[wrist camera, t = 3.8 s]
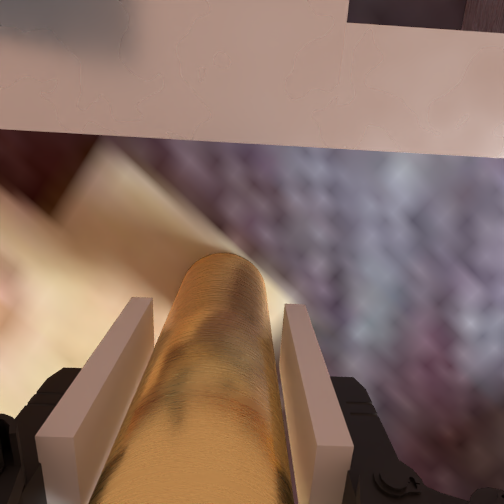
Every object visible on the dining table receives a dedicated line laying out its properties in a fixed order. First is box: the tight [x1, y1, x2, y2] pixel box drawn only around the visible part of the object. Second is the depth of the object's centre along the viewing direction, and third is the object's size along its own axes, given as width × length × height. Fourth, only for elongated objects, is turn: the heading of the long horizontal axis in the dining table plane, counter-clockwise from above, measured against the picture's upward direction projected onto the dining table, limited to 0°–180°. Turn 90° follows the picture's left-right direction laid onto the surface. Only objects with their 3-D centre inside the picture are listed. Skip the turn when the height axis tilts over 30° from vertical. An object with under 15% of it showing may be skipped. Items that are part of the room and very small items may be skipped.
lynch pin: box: [88, 253, 294, 504], centre depth 10 cm, size 4×4×16 cm
